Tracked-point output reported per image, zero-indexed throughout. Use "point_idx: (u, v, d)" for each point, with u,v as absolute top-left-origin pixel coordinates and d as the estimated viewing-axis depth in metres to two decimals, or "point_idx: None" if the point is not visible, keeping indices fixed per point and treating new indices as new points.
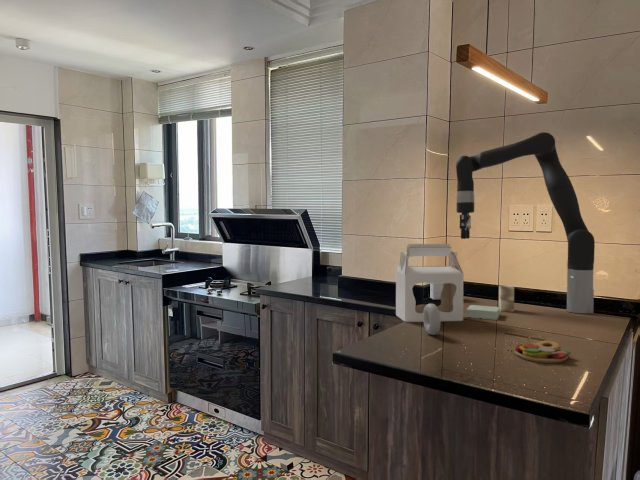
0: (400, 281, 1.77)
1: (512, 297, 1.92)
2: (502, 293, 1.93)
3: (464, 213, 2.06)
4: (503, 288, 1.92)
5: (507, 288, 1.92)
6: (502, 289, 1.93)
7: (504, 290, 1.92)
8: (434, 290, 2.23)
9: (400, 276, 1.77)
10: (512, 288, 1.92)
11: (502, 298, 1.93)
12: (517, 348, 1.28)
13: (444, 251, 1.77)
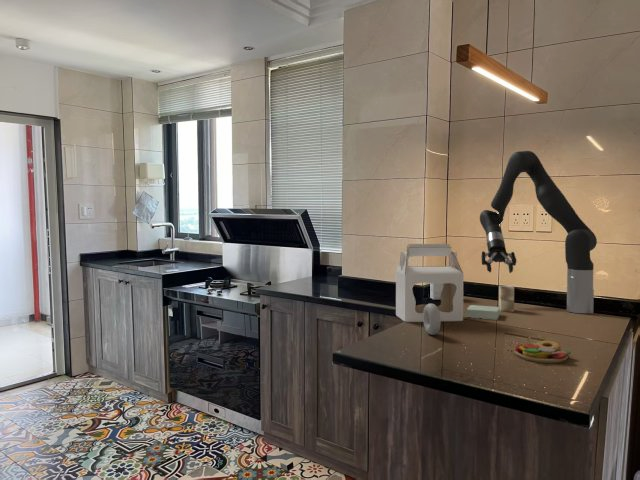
0: (400, 281, 1.77)
1: (512, 297, 1.92)
2: (502, 293, 1.93)
3: (488, 251, 2.14)
4: (503, 288, 1.93)
5: (507, 288, 1.92)
6: (502, 289, 1.93)
7: (504, 290, 1.92)
8: (434, 290, 2.23)
9: (400, 276, 1.77)
10: (512, 288, 1.92)
11: (502, 298, 1.93)
12: (517, 348, 1.28)
13: (444, 251, 1.77)
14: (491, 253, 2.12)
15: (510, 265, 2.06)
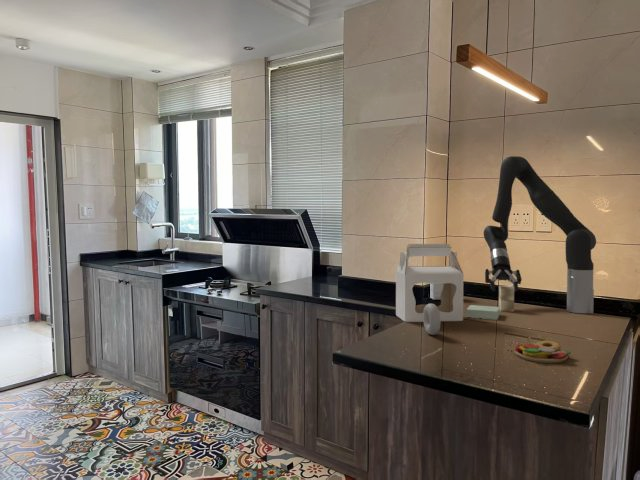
0: (400, 281, 1.77)
1: (512, 297, 1.92)
2: (502, 293, 1.93)
3: (492, 269, 2.05)
4: (503, 288, 1.93)
5: (507, 288, 1.92)
6: (502, 289, 1.93)
7: (504, 290, 1.92)
8: (434, 290, 2.23)
9: (400, 276, 1.77)
10: (512, 288, 1.92)
11: (502, 298, 1.93)
12: (517, 348, 1.28)
13: (444, 251, 1.77)
14: (495, 271, 2.03)
15: (515, 284, 1.98)
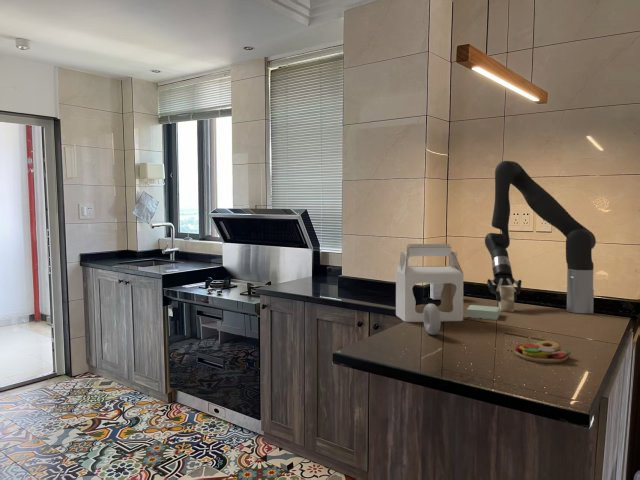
0: (400, 281, 1.77)
1: (512, 297, 1.92)
2: (502, 293, 1.93)
3: (494, 277, 2.01)
4: (503, 288, 1.92)
5: (507, 288, 1.92)
6: (502, 289, 1.93)
7: (504, 290, 1.92)
8: (434, 290, 2.23)
9: (400, 276, 1.77)
10: (512, 288, 1.92)
11: (502, 298, 1.93)
12: (517, 348, 1.28)
13: (444, 251, 1.77)
14: (497, 279, 2.00)
15: None
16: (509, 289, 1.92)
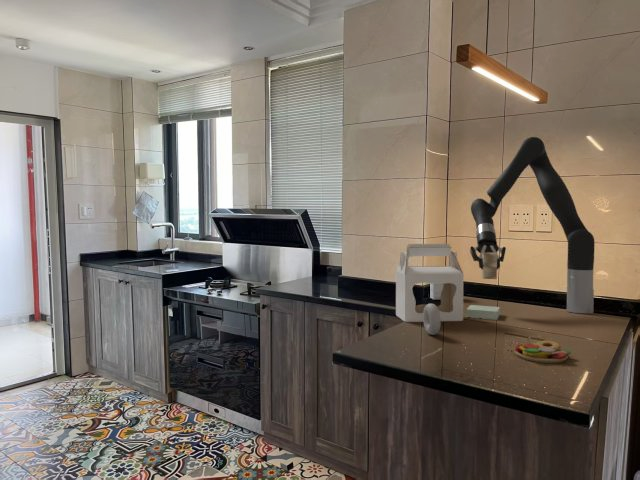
0: (400, 281, 1.77)
1: (495, 264, 1.84)
2: (484, 260, 1.85)
3: None
4: (485, 254, 1.84)
5: (490, 254, 1.84)
6: (484, 255, 1.85)
7: (487, 256, 1.84)
8: (434, 290, 2.23)
9: (400, 276, 1.77)
10: (495, 254, 1.84)
11: (484, 265, 1.85)
12: (517, 348, 1.28)
13: (444, 251, 1.77)
14: (480, 246, 1.91)
15: (497, 261, 1.85)
16: (492, 256, 1.84)
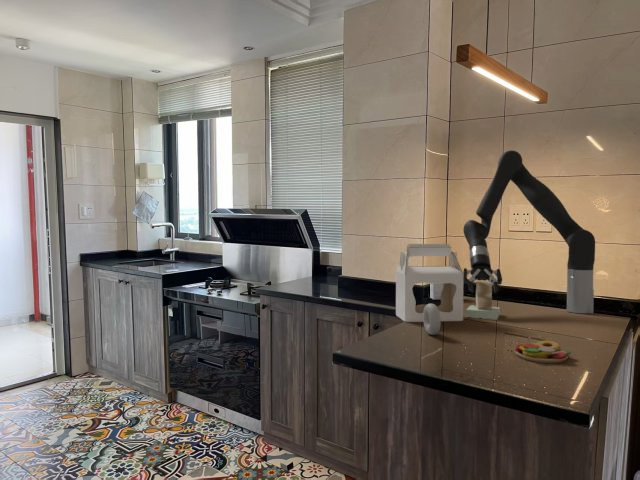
0: (400, 281, 1.77)
1: (490, 294, 1.80)
2: (479, 290, 1.80)
3: (471, 268, 1.89)
4: (480, 284, 1.80)
5: (484, 284, 1.80)
6: (479, 285, 1.80)
7: (481, 286, 1.80)
8: (434, 290, 2.23)
9: (400, 276, 1.77)
10: (490, 284, 1.80)
11: (479, 295, 1.80)
12: (517, 348, 1.28)
13: (444, 251, 1.77)
14: (474, 270, 1.87)
15: (495, 284, 1.81)
16: (487, 285, 1.80)
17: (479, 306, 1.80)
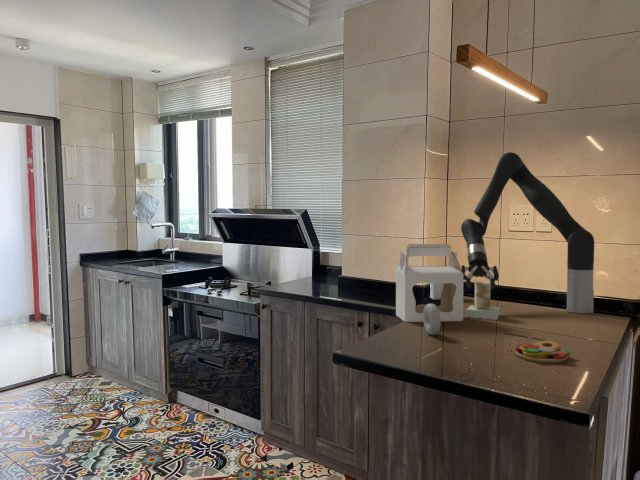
0: (400, 281, 1.77)
1: (488, 294, 1.79)
2: (478, 290, 1.80)
3: (469, 265, 1.96)
4: (479, 285, 1.80)
5: (483, 285, 1.80)
6: (478, 286, 1.80)
7: (480, 287, 1.80)
8: (434, 290, 2.23)
9: (400, 276, 1.77)
10: (488, 284, 1.79)
11: (478, 295, 1.80)
12: (517, 348, 1.28)
13: (444, 251, 1.77)
14: (471, 267, 1.94)
15: (492, 280, 1.88)
16: (485, 286, 1.79)
17: (478, 306, 1.80)
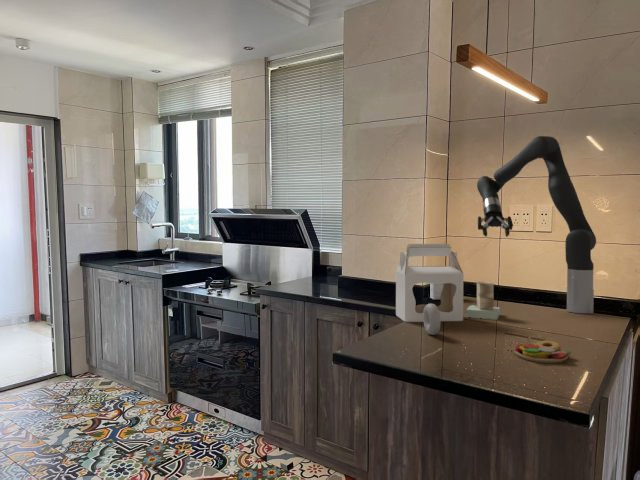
0: (400, 281, 1.77)
1: (491, 294, 1.79)
2: (481, 290, 1.79)
3: None
4: (482, 285, 1.79)
5: (486, 285, 1.79)
6: (481, 286, 1.79)
7: (483, 287, 1.79)
8: (434, 290, 2.23)
9: (400, 276, 1.77)
10: (491, 284, 1.79)
11: (481, 295, 1.80)
12: (517, 348, 1.28)
13: (444, 251, 1.77)
14: (487, 218, 2.09)
15: (506, 229, 2.03)
16: (488, 286, 1.79)
17: (481, 307, 1.80)
